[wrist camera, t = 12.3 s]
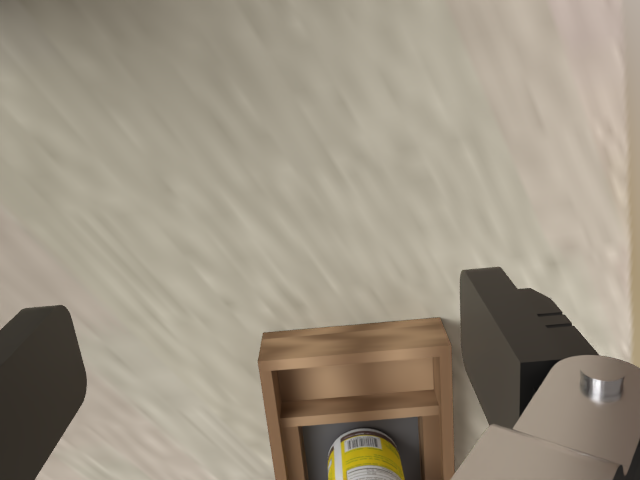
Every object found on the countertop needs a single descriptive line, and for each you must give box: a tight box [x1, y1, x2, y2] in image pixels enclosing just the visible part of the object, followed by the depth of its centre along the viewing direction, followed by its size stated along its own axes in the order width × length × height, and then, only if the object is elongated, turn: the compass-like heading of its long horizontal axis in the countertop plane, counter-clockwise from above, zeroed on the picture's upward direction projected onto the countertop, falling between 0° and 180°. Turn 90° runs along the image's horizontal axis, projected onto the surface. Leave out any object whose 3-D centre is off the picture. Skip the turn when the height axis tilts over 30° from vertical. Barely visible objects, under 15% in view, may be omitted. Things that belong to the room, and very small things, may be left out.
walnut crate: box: [258, 317, 455, 480], centre depth 44 cm, size 13×16×4 cm
